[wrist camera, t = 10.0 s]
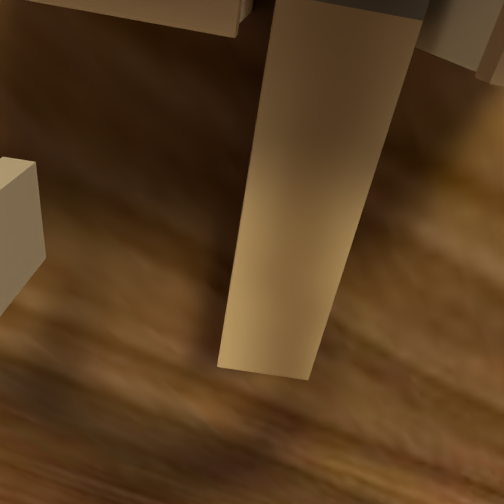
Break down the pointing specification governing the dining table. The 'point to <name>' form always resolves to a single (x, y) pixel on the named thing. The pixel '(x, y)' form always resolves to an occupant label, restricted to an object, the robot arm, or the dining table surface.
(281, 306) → the rail
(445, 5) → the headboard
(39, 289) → the dining table surface
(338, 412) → the dining table surface
